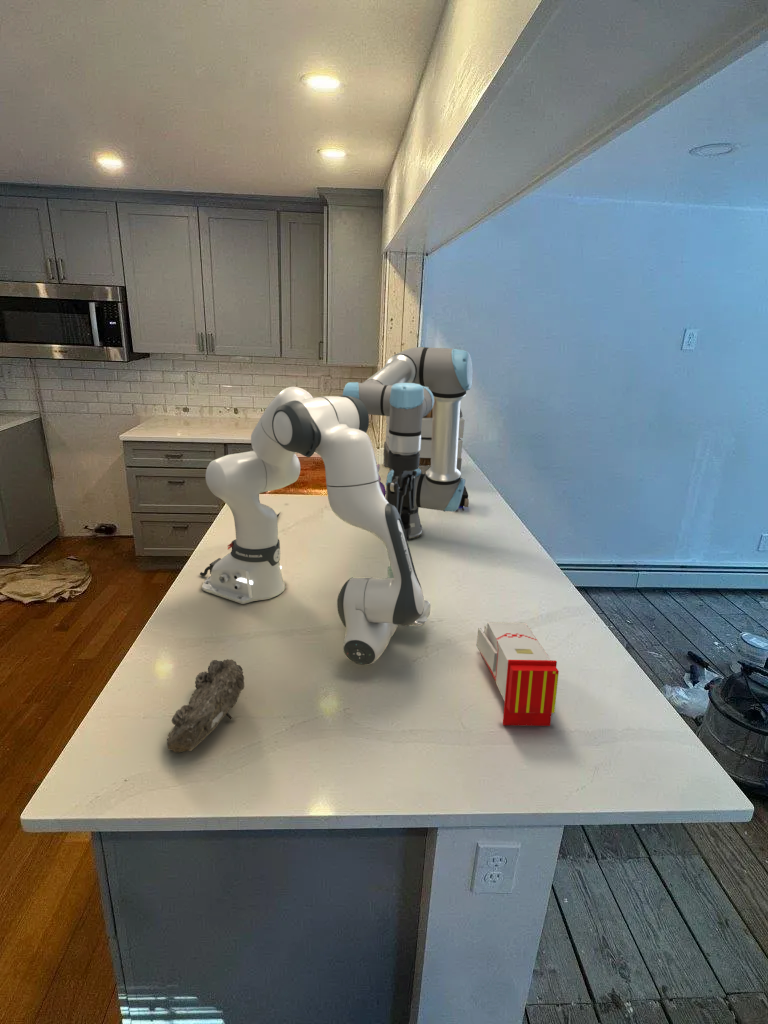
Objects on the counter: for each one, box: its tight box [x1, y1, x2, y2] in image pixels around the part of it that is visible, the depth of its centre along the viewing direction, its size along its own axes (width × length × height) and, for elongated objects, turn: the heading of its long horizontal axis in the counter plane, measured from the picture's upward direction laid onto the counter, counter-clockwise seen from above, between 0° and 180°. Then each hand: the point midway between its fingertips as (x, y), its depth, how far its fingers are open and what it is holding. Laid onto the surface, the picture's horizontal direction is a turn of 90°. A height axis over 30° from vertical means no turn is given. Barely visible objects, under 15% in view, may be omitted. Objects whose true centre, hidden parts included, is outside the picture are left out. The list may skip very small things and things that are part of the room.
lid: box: [402, 522, 411, 537], centre depth 139 cm, size 6×6×2 cm
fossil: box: [166, 658, 245, 754], centre depth 106 cm, size 22×10×15 cm
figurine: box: [377, 463, 386, 498], centre depth 231 cm, size 9×10×15 cm
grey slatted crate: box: [383, 407, 465, 474], centre depth 268 cm, size 34×33×41 cm
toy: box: [476, 621, 560, 727], centre depth 120 cm, size 12×13×30 cm
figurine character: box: [455, 485, 470, 512], centre depth 229 cm, size 7×8×15 cm
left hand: (396, 591), depth 146 cm, fingers closed on jar, 5 cm apart
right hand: (399, 542), depth 141 cm, fingers closed on lid, 5 cm apart
